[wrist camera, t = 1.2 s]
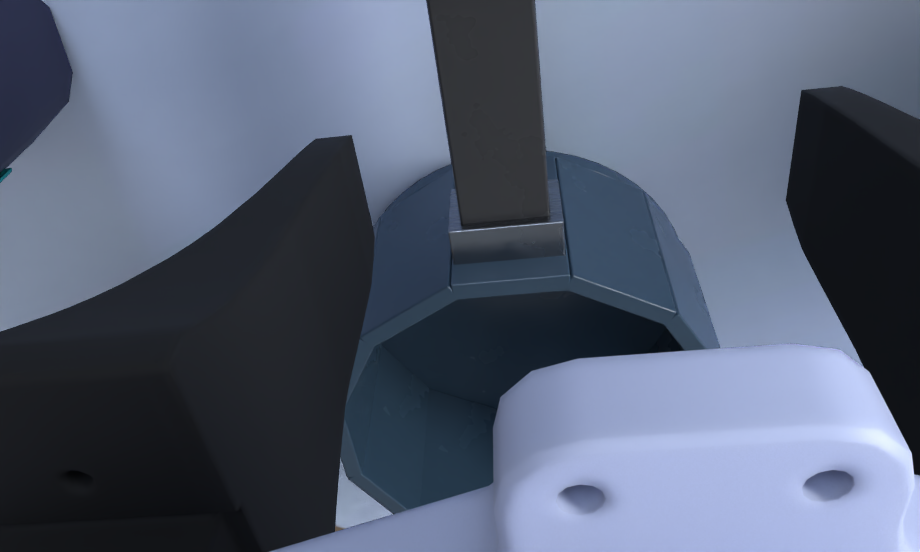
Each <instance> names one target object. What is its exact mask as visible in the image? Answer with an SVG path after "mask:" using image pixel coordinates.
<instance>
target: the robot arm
mask: <svg viewBox="0 0 920 552" xmlns="http://www.w3.org/2000/svg"><path fill="white" fill-rule="evenodd" d="M786 202H787V205H788V209H789V212H790V215H791V218H792V221H793V225H794V228H795V230H796V233H797V236H798V239H799V242H800V245H801V247H802V250H803V252H804V254H805V256H806V258H807V260H808V262H809V264H810V265H811V267H812V269H813V271H814V273H815V275H816V277H817V279H818V281H819V283H820V284H821V286H822V288H823V290H824V292H825V294H826V296H827V297H828V299H829V301H830V303H831V305H832V307H833V309H834V310H835V312H836V314H837V316H838V318H839V320H840V322H841V323H842V325H843V327H844V329H845V331H846V333H847V335H848V336H849V338H850V340H851V342H852V344H853V346H854V348H855V349H856V352H857V354H858V356H859V358H860V360H861V362H862V364H863V366H864V367H862V366H861V365H860V364H858V363H857V362H856V361H854V360H853V359H852V358H850V357H849V356H848V355H846V354H845V353H844V352H842V351H841V350H840V349H834V348H826V347H818V346H810V345H801V344H793V343H787V344H773V345H759V346H745V347H732V348H718V349H704V350H690V351H676V352H662V353H649V354H635V355H621V356H607V357H593V358H579V359H574V360H571V361H567V362H563V363H559V364H556V365H552V366H548V367H545V368H541V369H537V370H533V371H531V372H530V373H528V374H527V375H526V376H525V377H524V378H522V379H521V380H520V381H519V382H518V383H517V384H515V385H514V386H513V387H512V388H511V389H509V390H508V391H507V392H506V393H505V394H504V395H502V396H501V397H500V401H499V405H498V409H497V413H496V418H495V422H494V426H493V483H492V484H491V485H489V486H486V487H483V488H480V489H476V490H473V491H470V492H466V493H463V494H460V495H456V496H453V497H450V498H446V499H443V500H440V501H436V502H433V503H430V504H426V505H423V506H420V507H416V508H413V509H410V510H406V511H403V512H400V513H396V514H393V515H390V516H386V517H383V518H380V519H376V520H373V521H370V522H366V523H363V524H360V525H356V526H353V527H350V528H346V529H343V530H340V531H336V532H335V520H336V504H337V492H338V479H339V467H340V455H341V445H342V435H343V425H344V415H345V406H346V401H347V395H348V389H349V384H350V379H351V375H352V370H353V366H354V362H355V357H356V353H357V348H358V344H359V339H360V335H361V331H362V326H363V322H364V317H365V313H366V308H367V304H368V299H369V294H370V289H371V285H372V273H373V259H374V242H375V235H374V231H373V226H372V222H371V218H370V213H369V209H368V204H367V200H366V196H365V191H364V187H363V182H362V178H361V174H360V169H359V165H358V161H357V156H356V152H355V147H354V143H353V139H352V135H349V136H339V137H329V138H319V139H315V140H314V141H312V142H311V143H310V144H309V145H307V146H306V147H305V148H304V149H303V150H302V151H301V152H300V153H298V154H297V155H296V156H295V157H294V158H293V159H292V160H291V161H290V162H289V163H288V164H287V165H286V166H285V167H284V168H283V169H282V170H280V171H279V172H278V173H277V174H276V175H275V176H274V177H273V178H272V179H271V180H270V181H269V182H268V183H266V184H265V185H264V186H263V187H262V188H261V189H260V190H259V191H258V192H257V193H256V194H254V195H253V196H252V197H251V198H250V199H248V200H247V201H246V202H245V203H244V204H242V205H241V206H240V207H239V208H238V209H236V210H235V211H234V212H233V213H232V214H230V215H229V216H228V217H227V218H226V219H224V220H223V221H222V222H221V223H220V224H218V225H217V226H216V227H214V228H213V229H212V230H210V231H209V232H207V233H206V234H205V235H203V236H202V237H200V238H199V239H198V240H196V241H195V242H193V243H192V244H190V245H189V246H187V247H185V248H184V249H182V250H181V251H179V252H178V253H176V254H175V255H173V256H171V257H170V258H168V259H166V260H165V261H163V262H161V263H159V264H157V265H156V266H154V267H152V268H150V269H148V270H146V271H145V272H143V273H141V274H139V275H137V276H135V277H134V278H132V279H130V280H128V281H126V282H125V283H123V284H120V285H118V286H116V287H114V288H112V289H110V290H108V291H106V292H103V293H101V294H99V295H97V296H95V297H93V298H90V299H88V300H85V301H83V302H81V303H78V304H76V305H74V306H71V307H69V308H66V309H64V310H61V311H59V312H56V313H53V314H51V315H48V316H45V317H42V318H39V319H36V320H33V321H30V322H28V323H25V324H22V325H19V326H16V327H13V328H10V329H7V330H4V331H1V332H0V552H920V120H919V119H917V118H915V117H913V116H911V115H909V114H906V113H904V112H902V111H900V110H898V109H896V108H894V107H892V106H889V105H887V104H885V103H883V102H881V101H879V100H876V99H874V98H872V97H870V96H867V95H865V94H863V93H860V92H858V91H855V90H853V89H850V88H846V87H843V86H838V87H828V88H818V89H808V90H801V97H800V104H799V111H798V118H797V125H796V132H795V139H794V146H793V154H792V161H791V168H790V175H789V182H788V189H787V196H786Z"/></svg>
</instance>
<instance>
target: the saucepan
mask: <svg viewBox="0 0 920 552" xmlns="http://www.w3.org/2000/svg"><path fill="white" fill-rule="evenodd" d="M426 2H427V8H428V15H429V21H430V28H431V34H432V41H433V47H434V54H435V60H436V67H437V73H438V80H439V86H440V93H441V99H442V106H443V112H444V119H445V125H446V132H447V138H448V145H449V151H450V158H451V165H448V166H446V167H444V168H441V169H439V170H437V171H435V172H433V173H431V174H430V175H428V176H426V177H424V178H423V179H421V180H419V181H418V182H416V183H415V184H414V185H412V186H411V187H410V188H409V189H407V190H406V191H405V192H403V193H402V194H401V195H400V196H399V197H398V198H397V199H396V200H395V201H394V202H393V203H392V204H391V205H390V206H389V207H388V208H387V209H386V210H385V212H384V213H383V214H382V216H381V217H380V218H379V220H378V221H377V222H376V224H375V226H374V228H373V231H374V235H375V242H374V259H373V273H372V285H371V289H370V294H369V299H368V304H367V308H366V313H365V317H364V322H363V326H362V331H361V335H360V339H359V344H358V348H357V353H356V357H355V362H354V366H353V370H352V375H351V379H350V384H349V389H348V395H347V401H346V406H345V415H344V425H343V435H342V445H341V455H340V457H341V460H342V464H343V467H344V470H345V473H346V476H347V477H348V479H349V480H350V481H351V482H353V483H354V484H355V485H357V486H358V487H359V488H360V489H362V490H363V491H364V492H366V493H367V494H368V495H370V496H371V497H372V498H373V499H375V500H376V501H377V502H379V503H380V504H381V505H382V506H384V507H385V508H386V509H388V510H389V511H390V512H392V513H393V514H396V513H400V512H403V511H406V510H410V509H413V508H416V507H420V506H423V505H426V504H430V503H433V502H436V501H440V500H443V499H446V498H450V497H453V496H456V495H460V494H463V493H466V492H470V491H473V490H476V489H480V488H483V487H486V486H489V485H491V484H492V483H493V426H494V422H495V418H496V413H497V409H498V405H499V401H500V397H501V396H502V395H504V394H505V393H506V392H507V391H508V390H509V389H511V388H512V387H513V386H514V385H515V384H517V383H518V382H519V381H520V380H521V379H522V378H524V377H525V376H526V375H527V374H528V373H530V372H531V371H533V370H537V369H541V368H545V367H548V366H552V365H556V364H559V363H563V362H567V361H571V360H574V359H579V358H593V357H607V356H621V355H635V354H649V353H662V352H676V351H690V350H704V349H718V348H720V345H719V342H718V339H717V336H716V333H715V330H714V327H713V324H712V321H711V318H710V315H709V312H708V309H707V306H706V303H705V300H704V297H703V293H702V290H701V287H700V284H699V281H698V278H697V275H696V272H695V269H694V266H693V263H692V260H691V257H690V254H689V252H688V251H687V249H686V248H685V246H684V245H683V244H682V242H681V241H680V240H679V238H678V237H677V234H676V232H675V229H674V228H673V226H672V224H671V223H670V221H669V219H668V218H667V216H666V214H665V213H664V212H663V210H662V209H661V208H660V207H659V206H658V204H657V203H656V202H655V201H654V200H653V199H652V198H651V197H650V196H649V195H648V194H647V193H646V192H645V191H643V190H642V189H641V188H640V187H639V186H638V185H636V184H635V183H633V182H632V181H630V180H629V179H627V178H626V177H624V176H622V175H621V174H619V173H618V172H616V171H613V170H611V169H609V168H607V167H605V166H603V165H601V164H599V163H596V162H593V161H589V160H586V159H583V158H580V157H577V156H573V155H567V154H562V153H557V152H550V151H546V146H545V133H544V119H543V105H542V91H541V77H540V64H539V50H538V36H537V22H536V8H535V0H426Z"/></svg>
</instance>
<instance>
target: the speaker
mask: <svg viewBox="0 0 920 552" xmlns="http://www.w3.org/2000/svg"><path fill="white" fill-rule="evenodd" d="M72 74H73V72H72V69H71V66H70V63H69V60H68V58H67V55H66V52H65V49H64V47H63V44H62V41H61V38H60V35H59V33H58V30H57V27H56V24H55V22H54V19H53V16H52V13H51V10H50V8H49V7H48V6H47V5H46V4H45V3H43V2H42V1H41V0H0V183H1V182H2V181H3V180H4V179H5V178H6V177H7V176H8V175H9V174H10V173H11V172H12V168H7V169H5V168H6V167H8V166H9V165H10V164H11V163H12V162H13V161H14V160H15V159H16V158H17V157H18V156H19V155H20V154H21V153H22V152H23V151H24V150H25V149H26V148H27V147H29V146H30V145H31V144H32V143H33V142H34V141H35V139H36V138H37V137H38V136H39V135H40V134H41V133H42V131H43V130H44V129H45V128H46V127H47V126H48V125H49V123H50V122H51V121H52V120H53V119H54V118H55V117H56V115H57V114H58V113H59V112H60V111H61V110H62V108H63V107H64V106H65V105H66V104H67V103H68V102H69V95H70V88H71V81H72Z"/></svg>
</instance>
